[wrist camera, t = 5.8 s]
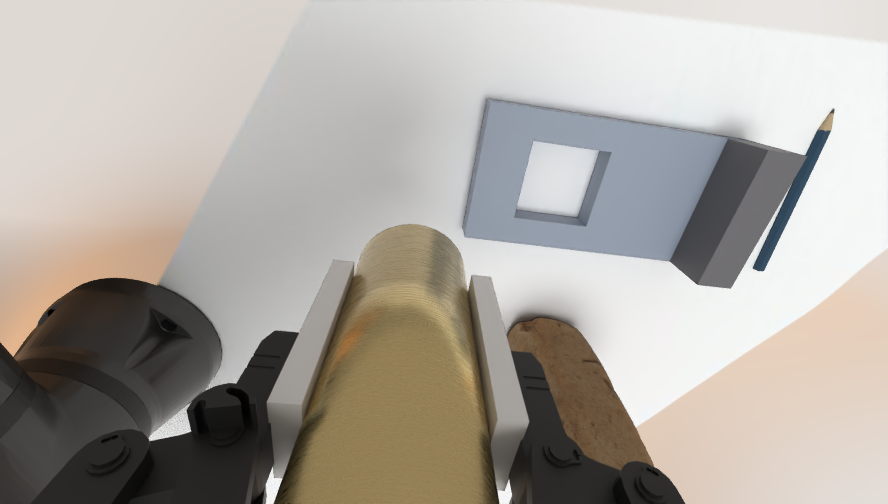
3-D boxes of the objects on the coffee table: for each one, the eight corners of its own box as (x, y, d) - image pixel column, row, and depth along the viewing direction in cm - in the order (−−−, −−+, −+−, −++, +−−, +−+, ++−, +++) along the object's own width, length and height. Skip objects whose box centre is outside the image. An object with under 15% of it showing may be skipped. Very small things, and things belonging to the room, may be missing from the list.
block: (519, 303, 39) (599, 514, 21) (585, 319, 40) (712, 531, 22) (482, 379, 43) (522, 605, 26) (542, 392, 45) (619, 614, 27)
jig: (462, 227, 35) (469, 259, 29) (487, 98, 30) (500, 108, 24) (686, 254, 37) (730, 288, 32) (743, 139, 32) (807, 156, 27)
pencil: (750, 266, 38) (823, 107, 31) (759, 266, 38) (835, 108, 31) (756, 270, 38) (833, 109, 31) (766, 271, 38) (845, 109, 31)
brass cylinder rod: (356, 310, 18) (240, 704, 7) (361, 218, 15) (204, 580, 5) (455, 319, 18) (489, 706, 7) (472, 231, 16) (554, 593, 5)
